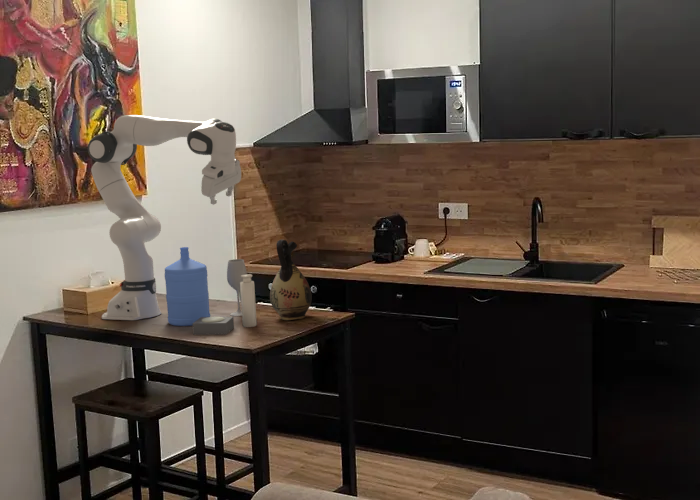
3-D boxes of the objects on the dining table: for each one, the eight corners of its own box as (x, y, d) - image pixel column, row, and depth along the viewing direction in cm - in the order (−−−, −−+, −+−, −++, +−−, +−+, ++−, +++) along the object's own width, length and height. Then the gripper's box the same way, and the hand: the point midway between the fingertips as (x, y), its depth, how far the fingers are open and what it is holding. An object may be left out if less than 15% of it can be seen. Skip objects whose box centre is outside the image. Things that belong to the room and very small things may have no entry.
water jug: (202, 326, 324) (197, 250, 320) (161, 326, 326) (156, 251, 322) (215, 317, 339) (211, 244, 335) (176, 317, 341) (171, 245, 337)
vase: (241, 327, 320) (238, 276, 317) (244, 324, 325) (241, 274, 322) (254, 327, 319) (251, 276, 317) (258, 323, 324) (255, 273, 321)
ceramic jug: (282, 312, 342) (277, 235, 337) (319, 314, 336) (315, 235, 332) (262, 322, 326) (257, 241, 322) (300, 324, 320) (296, 242, 316)
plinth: (193, 334, 312) (192, 322, 311) (201, 327, 322) (201, 316, 321) (226, 334, 310) (225, 322, 309) (234, 327, 320) (233, 315, 319)
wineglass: (251, 311, 345) (247, 258, 342) (246, 316, 338) (243, 261, 335) (231, 312, 346) (228, 259, 343) (227, 316, 339) (223, 262, 336)
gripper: (232, 155, 337) (230, 188, 344) (198, 171, 321) (197, 205, 327) (246, 160, 335) (244, 193, 341) (212, 176, 318) (211, 211, 325)
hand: (221, 199), depth 334 cm, fingers open, 8 cm apart
